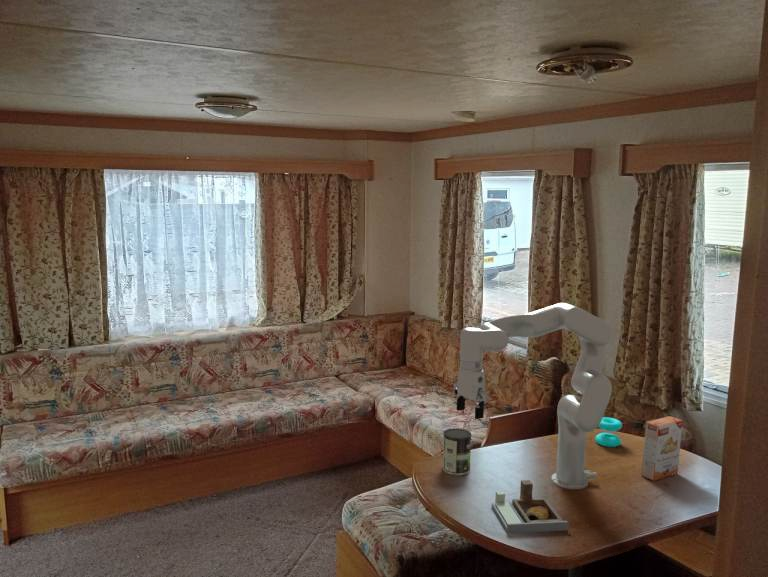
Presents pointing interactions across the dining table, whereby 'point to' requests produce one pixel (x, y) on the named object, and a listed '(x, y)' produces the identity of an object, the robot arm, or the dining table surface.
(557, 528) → the lane guide
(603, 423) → the donuts
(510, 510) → the sage strip
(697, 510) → the dining table surface
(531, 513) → the pastry
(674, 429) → the cracker box
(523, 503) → the frame
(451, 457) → the coffee can
